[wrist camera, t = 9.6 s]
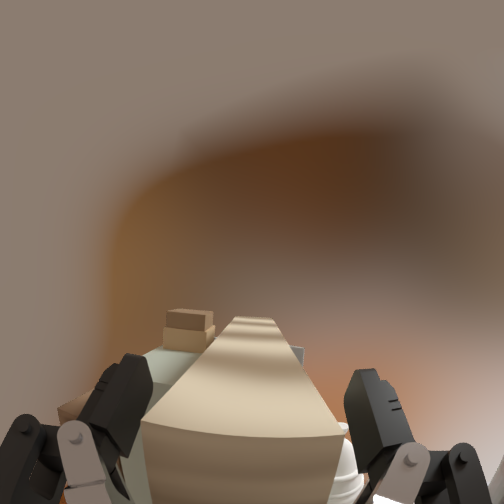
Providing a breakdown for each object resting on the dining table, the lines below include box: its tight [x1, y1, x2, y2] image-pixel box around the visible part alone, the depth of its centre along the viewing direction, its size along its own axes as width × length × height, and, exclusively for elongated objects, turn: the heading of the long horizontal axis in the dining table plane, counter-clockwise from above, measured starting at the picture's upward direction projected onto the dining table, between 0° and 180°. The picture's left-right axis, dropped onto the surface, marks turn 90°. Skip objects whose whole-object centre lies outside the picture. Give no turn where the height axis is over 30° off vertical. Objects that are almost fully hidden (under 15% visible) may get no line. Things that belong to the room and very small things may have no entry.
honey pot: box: [327, 422, 364, 504], centre depth 29 cm, size 13×13×18 cm
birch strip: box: [140, 316, 345, 504], centre depth 17 cm, size 26×4×3 cm, turn 179°
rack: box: [120, 309, 215, 504], centre depth 20 cm, size 12×16×36 cm
